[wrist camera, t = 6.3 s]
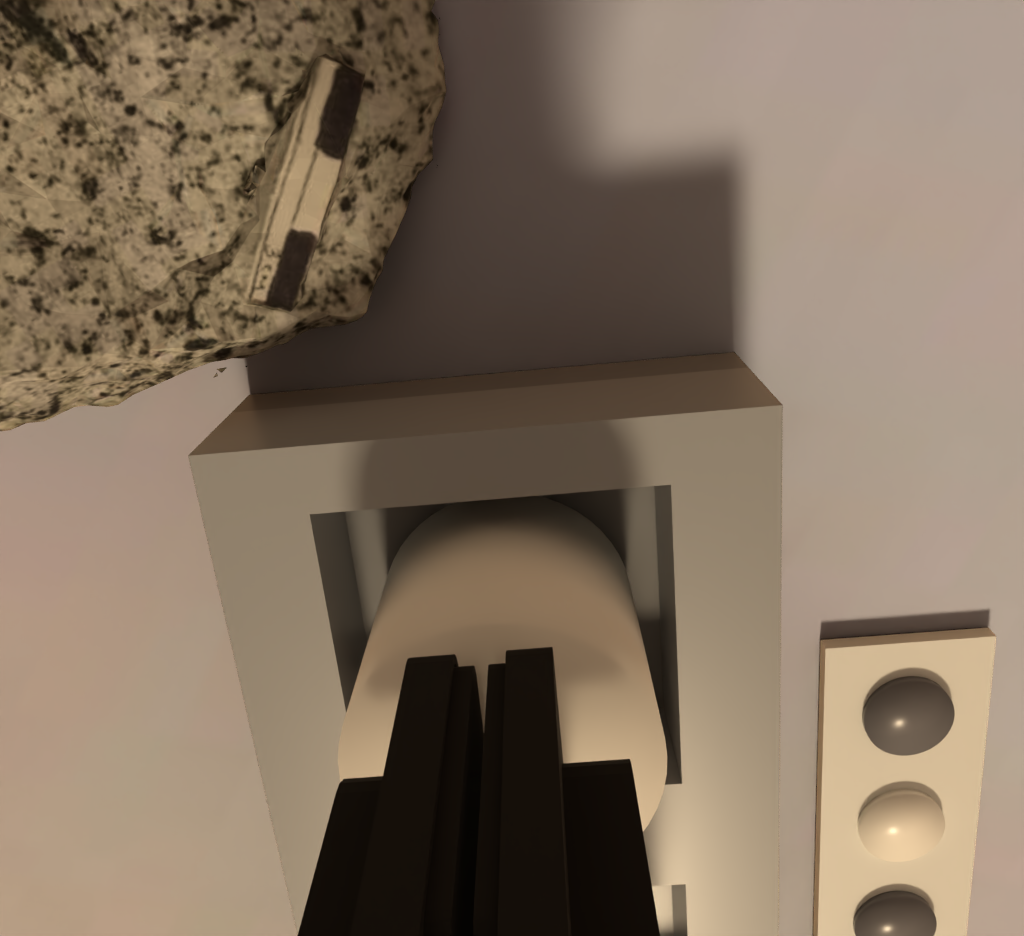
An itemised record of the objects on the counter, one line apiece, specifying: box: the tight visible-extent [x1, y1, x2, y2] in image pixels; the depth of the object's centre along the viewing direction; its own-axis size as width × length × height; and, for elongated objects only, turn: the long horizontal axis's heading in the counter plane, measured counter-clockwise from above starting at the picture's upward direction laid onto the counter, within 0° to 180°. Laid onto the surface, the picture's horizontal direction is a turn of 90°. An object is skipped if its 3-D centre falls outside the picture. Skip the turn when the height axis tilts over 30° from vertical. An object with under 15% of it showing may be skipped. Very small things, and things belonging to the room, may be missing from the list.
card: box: [813, 628, 996, 936], centre depth 18 cm, size 8×3×1 cm, turn 5°
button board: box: [188, 352, 783, 936], centre depth 17 cm, size 21×8×3 cm, turn 5°
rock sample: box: [0, 0, 446, 431], centre depth 12 cm, size 10×8×9 cm
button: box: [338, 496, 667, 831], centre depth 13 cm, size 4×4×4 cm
